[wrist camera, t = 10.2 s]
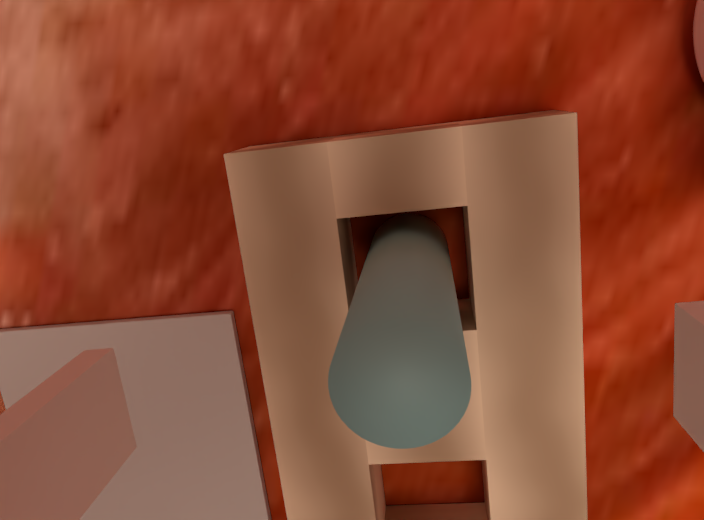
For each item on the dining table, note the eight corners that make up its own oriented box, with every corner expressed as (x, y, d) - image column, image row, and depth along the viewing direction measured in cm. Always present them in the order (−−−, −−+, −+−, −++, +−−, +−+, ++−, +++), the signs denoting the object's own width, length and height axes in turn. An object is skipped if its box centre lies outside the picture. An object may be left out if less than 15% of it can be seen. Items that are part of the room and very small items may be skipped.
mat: (52, 543, 31) (47, 549, 31) (-12, 330, 28) (-17, 333, 28) (274, 538, 29) (272, 544, 29) (233, 310, 26) (230, 313, 26)
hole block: (317, 554, 29) (303, 613, 26) (250, 146, 24) (223, 154, 21) (569, 549, 28) (589, 612, 24) (554, 110, 23) (576, 112, 19)
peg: (374, 290, 25) (336, 450, 14) (367, 216, 25) (319, 323, 13) (450, 285, 25) (475, 446, 14) (445, 210, 24) (467, 313, 13)
